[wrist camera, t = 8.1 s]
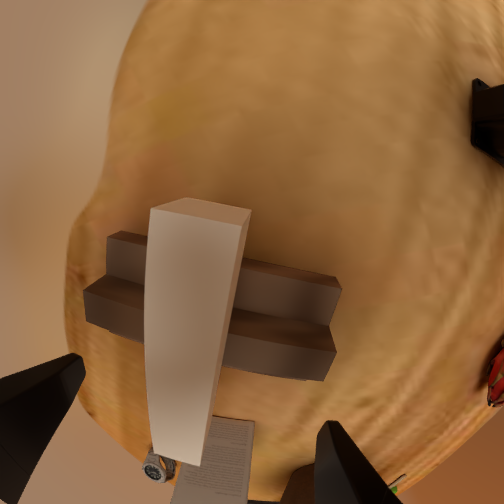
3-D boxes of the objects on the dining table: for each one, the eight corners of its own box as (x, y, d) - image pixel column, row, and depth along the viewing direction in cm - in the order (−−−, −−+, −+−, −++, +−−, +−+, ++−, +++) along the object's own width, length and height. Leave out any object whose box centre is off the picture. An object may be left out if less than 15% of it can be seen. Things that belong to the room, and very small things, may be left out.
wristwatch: (168, 444, 26) (157, 473, 22) (184, 465, 28) (176, 492, 23) (144, 440, 27) (132, 467, 22) (162, 462, 28) (153, 487, 24)
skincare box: (198, 433, 25) (172, 520, 13) (196, 411, 24) (165, 509, 12) (252, 441, 24) (241, 533, 13) (256, 420, 23) (245, 524, 12)
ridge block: (335, 277, 18) (354, 311, 14) (304, 364, 21) (309, 408, 16) (121, 230, 19) (81, 248, 14) (120, 320, 21) (90, 352, 16)
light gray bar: (251, 209, 13) (241, 226, 9) (210, 425, 17) (199, 466, 13) (186, 197, 13) (151, 208, 9) (169, 414, 17) (153, 453, 13)
